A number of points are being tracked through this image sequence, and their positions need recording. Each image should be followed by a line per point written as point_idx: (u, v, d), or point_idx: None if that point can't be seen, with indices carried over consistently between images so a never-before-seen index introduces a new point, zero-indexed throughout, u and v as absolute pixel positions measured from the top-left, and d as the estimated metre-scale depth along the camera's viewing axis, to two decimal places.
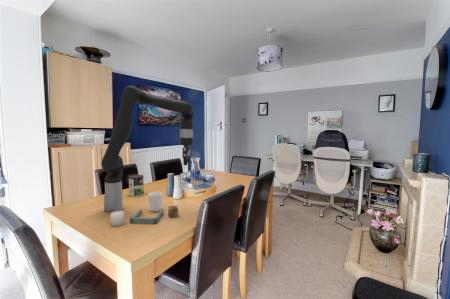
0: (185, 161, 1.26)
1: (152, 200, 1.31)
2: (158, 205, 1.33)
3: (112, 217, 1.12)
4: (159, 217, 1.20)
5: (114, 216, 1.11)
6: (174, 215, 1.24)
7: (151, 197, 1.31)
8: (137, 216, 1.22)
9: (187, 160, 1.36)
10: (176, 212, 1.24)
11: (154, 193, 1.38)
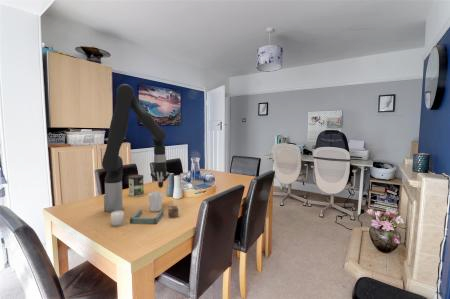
0: None
1: (152, 200, 1.31)
2: (158, 205, 1.33)
3: (112, 217, 1.12)
4: (159, 217, 1.20)
5: (114, 216, 1.11)
6: (174, 215, 1.24)
7: (151, 197, 1.31)
8: (137, 216, 1.22)
9: None
10: (176, 212, 1.24)
11: (154, 193, 1.38)
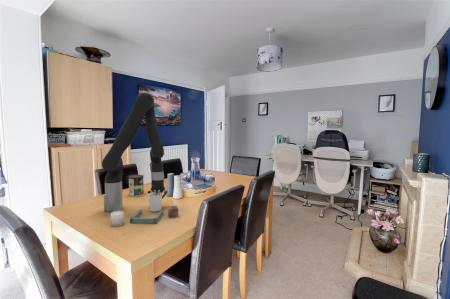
0: None
1: (151, 200, 1.31)
2: (158, 205, 1.32)
3: (112, 217, 1.12)
4: (159, 217, 1.20)
5: (113, 216, 1.11)
6: (174, 215, 1.24)
7: (151, 197, 1.31)
8: (137, 216, 1.22)
9: None
10: (176, 212, 1.24)
11: None
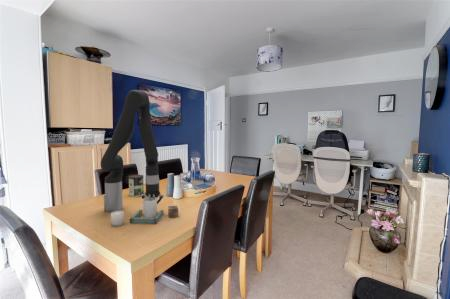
0: None
1: (145, 205, 1.21)
2: (152, 211, 1.22)
3: (112, 217, 1.12)
4: (159, 217, 1.20)
5: (113, 216, 1.11)
6: (174, 215, 1.24)
7: (145, 203, 1.21)
8: (137, 216, 1.22)
9: None
10: (176, 212, 1.24)
11: None
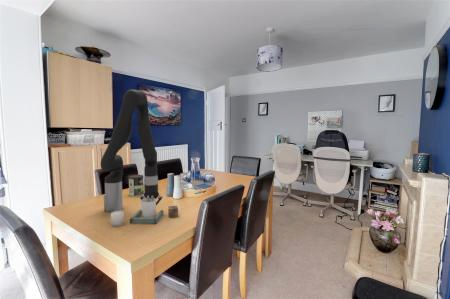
0: None
1: (144, 207, 1.19)
2: (151, 213, 1.20)
3: (112, 217, 1.12)
4: (159, 217, 1.20)
5: (113, 216, 1.11)
6: (174, 215, 1.24)
7: (143, 204, 1.19)
8: (137, 216, 1.22)
9: None
10: (176, 212, 1.24)
11: None
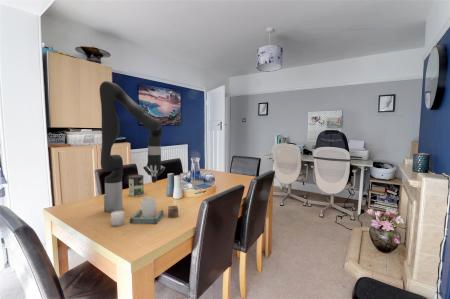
0: (156, 178, 1.32)
1: (144, 207, 1.19)
2: (151, 213, 1.20)
3: (112, 217, 1.12)
4: (159, 217, 1.20)
5: (113, 216, 1.11)
6: (174, 215, 1.24)
7: (143, 204, 1.19)
8: (137, 216, 1.22)
9: None
10: (176, 212, 1.24)
11: (148, 199, 1.26)
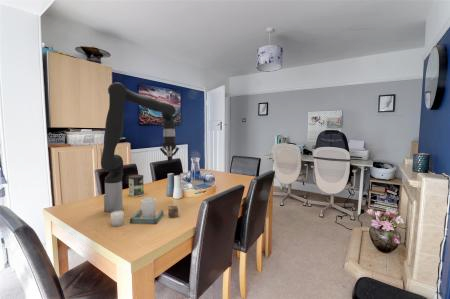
0: None
1: (144, 207, 1.19)
2: (151, 213, 1.20)
3: (111, 217, 1.12)
4: (159, 217, 1.20)
5: (113, 216, 1.11)
6: (174, 215, 1.24)
7: (143, 204, 1.19)
8: (137, 216, 1.22)
9: None
10: (176, 212, 1.24)
11: (148, 199, 1.26)
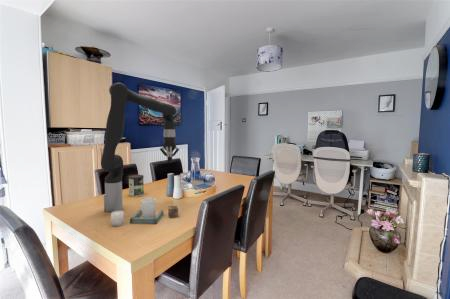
0: None
1: (144, 207, 1.19)
2: (151, 213, 1.20)
3: (112, 217, 1.12)
4: (159, 217, 1.20)
5: (113, 216, 1.11)
6: (174, 215, 1.24)
7: (143, 204, 1.19)
8: (137, 216, 1.22)
9: None
10: (176, 212, 1.24)
11: (148, 199, 1.26)
